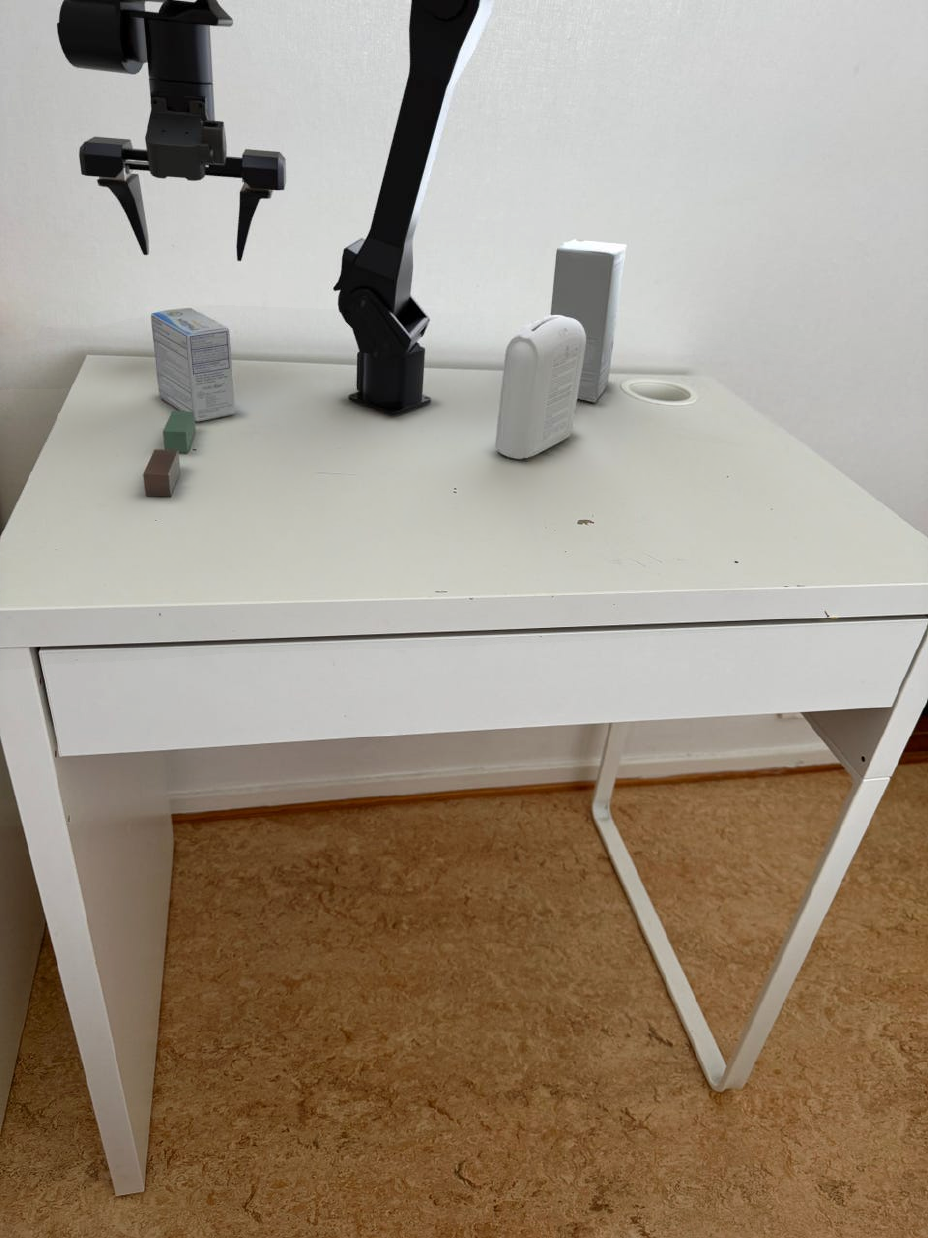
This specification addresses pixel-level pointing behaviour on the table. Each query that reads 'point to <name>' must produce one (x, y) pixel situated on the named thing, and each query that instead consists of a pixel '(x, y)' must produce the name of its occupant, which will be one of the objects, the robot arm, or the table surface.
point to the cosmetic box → (590, 303)
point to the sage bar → (179, 431)
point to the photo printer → (540, 386)
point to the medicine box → (193, 363)
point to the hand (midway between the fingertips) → (193, 257)
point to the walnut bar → (161, 473)
